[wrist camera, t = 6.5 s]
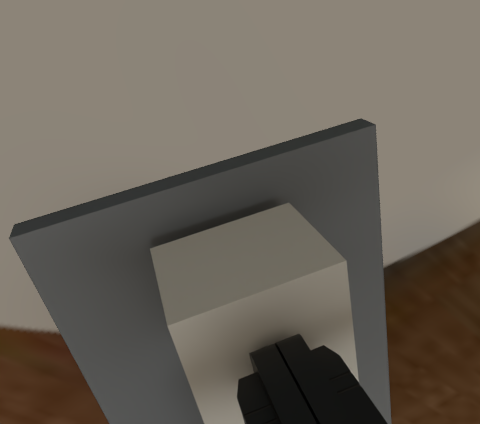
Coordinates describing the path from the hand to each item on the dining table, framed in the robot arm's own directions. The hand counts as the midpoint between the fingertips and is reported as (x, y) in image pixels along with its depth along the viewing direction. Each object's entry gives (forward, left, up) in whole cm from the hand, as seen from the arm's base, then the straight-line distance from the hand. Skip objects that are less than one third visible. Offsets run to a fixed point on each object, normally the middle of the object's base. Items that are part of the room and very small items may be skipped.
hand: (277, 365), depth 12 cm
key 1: (0, 0, -4) cm, 4 cm away
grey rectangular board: (0, +7, -6) cm, 9 cm away
